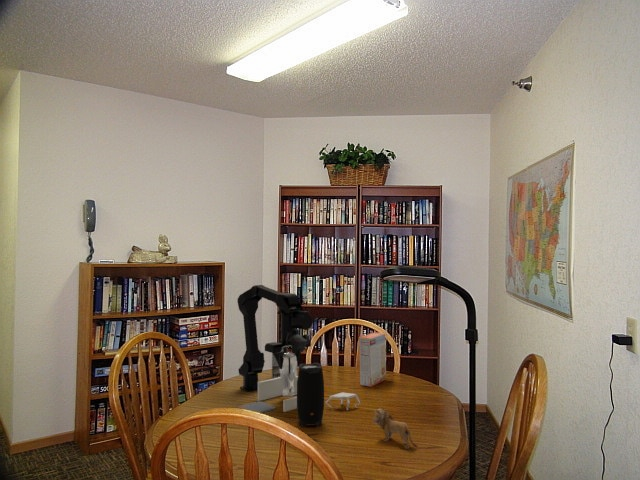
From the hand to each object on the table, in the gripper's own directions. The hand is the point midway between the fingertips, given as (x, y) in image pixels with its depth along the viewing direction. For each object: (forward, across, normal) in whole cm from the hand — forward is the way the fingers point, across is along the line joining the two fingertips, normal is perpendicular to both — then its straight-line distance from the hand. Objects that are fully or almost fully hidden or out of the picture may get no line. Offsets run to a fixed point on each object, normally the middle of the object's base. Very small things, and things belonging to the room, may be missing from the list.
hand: (288, 367), depth 182 cm
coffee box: (+13, +15, +25) cm, 32 cm away
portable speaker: (+13, -9, -23) cm, 28 cm away
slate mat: (+13, -14, +1) cm, 19 cm away
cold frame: (+13, 0, 0) cm, 13 cm away
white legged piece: (+13, +10, -19) cm, 25 cm away
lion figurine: (+13, 0, -51) cm, 53 cm away
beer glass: (+10, 0, 0) cm, 10 cm away
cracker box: (+13, +43, -5) cm, 45 cm away
